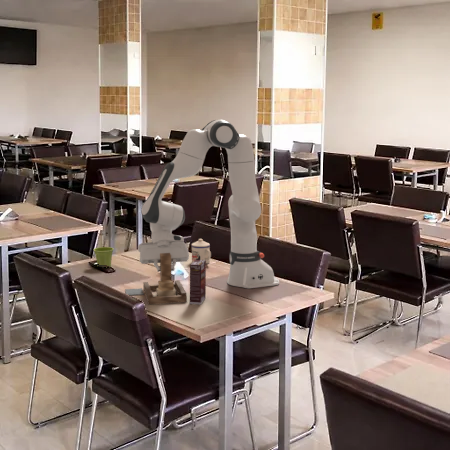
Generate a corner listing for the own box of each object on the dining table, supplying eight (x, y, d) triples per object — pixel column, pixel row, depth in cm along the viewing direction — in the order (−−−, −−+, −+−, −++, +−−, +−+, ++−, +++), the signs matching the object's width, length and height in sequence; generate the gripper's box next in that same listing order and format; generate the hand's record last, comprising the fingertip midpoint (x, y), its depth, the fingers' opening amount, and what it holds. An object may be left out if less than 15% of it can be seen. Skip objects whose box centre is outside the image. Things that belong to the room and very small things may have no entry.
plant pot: (90, 268, 310) (90, 250, 308) (99, 263, 319) (98, 246, 317) (109, 270, 308) (108, 251, 306) (117, 265, 317) (116, 247, 315)
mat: (142, 289, 277) (142, 288, 277) (143, 294, 269) (143, 293, 269) (125, 290, 275) (125, 289, 275) (126, 295, 268) (126, 294, 268)
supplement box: (201, 305, 256) (201, 265, 253) (189, 304, 257) (189, 264, 254) (206, 298, 265) (206, 259, 262) (194, 297, 266) (194, 259, 263)
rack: (179, 287, 279) (179, 279, 279) (186, 302, 260) (186, 293, 259) (143, 289, 276) (143, 281, 275) (148, 304, 257) (148, 295, 256)
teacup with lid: (187, 262, 323) (187, 238, 321) (202, 259, 329) (202, 236, 326) (202, 266, 314) (202, 242, 312) (217, 263, 320) (217, 240, 317)
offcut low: (173, 296, 268) (173, 286, 267) (175, 300, 263) (175, 290, 262) (156, 297, 266) (156, 287, 266) (158, 301, 262) (157, 291, 261)
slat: (170, 290, 274) (169, 252, 271) (171, 293, 270) (171, 255, 267) (160, 291, 273) (159, 253, 270) (161, 294, 269) (161, 256, 266)
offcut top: (170, 286, 267) (169, 279, 266) (173, 289, 263) (173, 282, 263) (158, 288, 265) (158, 281, 264) (161, 291, 261) (161, 283, 261)
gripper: (137, 239, 272) (140, 268, 264) (187, 236, 276) (191, 265, 269) (137, 247, 277) (139, 275, 270) (185, 244, 281) (189, 273, 274)
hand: (165, 270), depth 269 cm, fingers closed on slat, 4 cm apart
